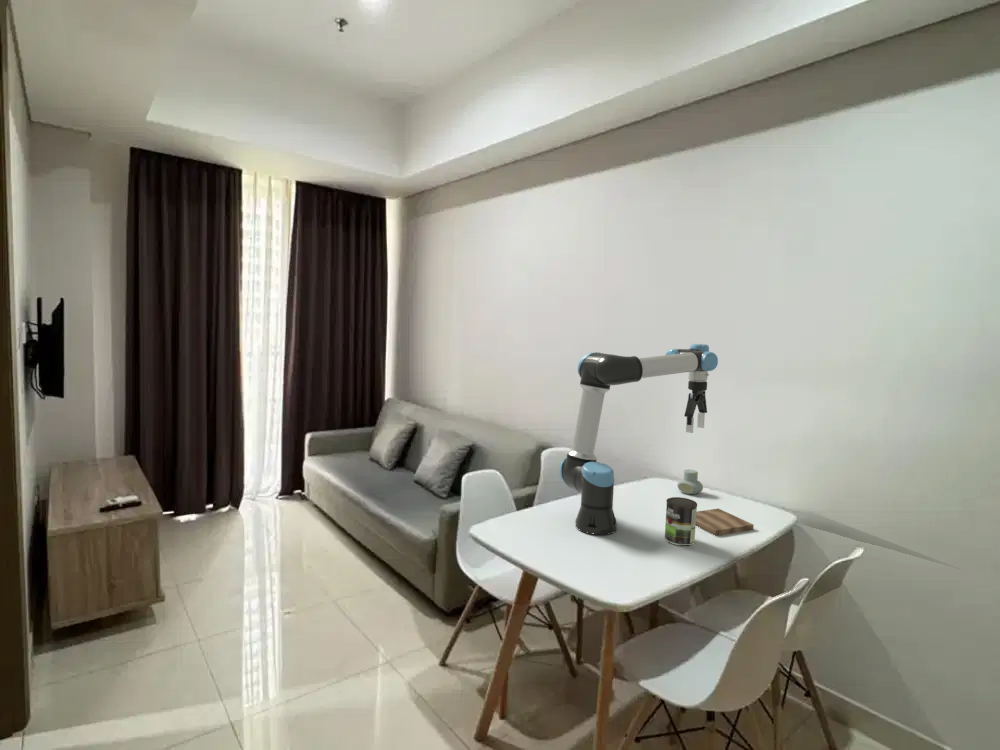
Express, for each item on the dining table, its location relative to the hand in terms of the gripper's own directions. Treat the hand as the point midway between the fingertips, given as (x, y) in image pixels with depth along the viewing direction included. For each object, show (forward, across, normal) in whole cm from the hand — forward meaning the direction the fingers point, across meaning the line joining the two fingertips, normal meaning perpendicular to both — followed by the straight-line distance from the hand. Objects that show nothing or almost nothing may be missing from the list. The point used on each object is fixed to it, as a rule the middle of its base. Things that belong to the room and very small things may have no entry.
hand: (695, 430), depth 233 cm
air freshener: (+31, +9, +4) cm, 33 cm away
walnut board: (+31, -22, -18) cm, 41 cm away
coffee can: (+31, -46, -12) cm, 57 cm away
